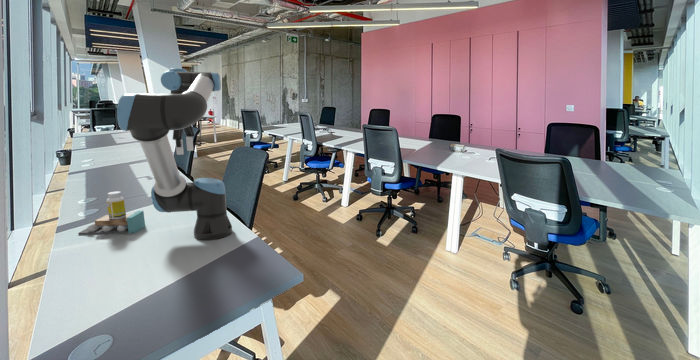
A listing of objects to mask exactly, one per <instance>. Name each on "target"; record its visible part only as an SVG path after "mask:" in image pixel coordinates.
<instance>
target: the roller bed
mask: <svg viewBox="0 0 700 360" xmlns="http://www.w3.org/2000/svg"><path fill="white" fill-rule="evenodd" d="M130 215H131V216H129V217H127V224H128V225H95V222H94V223H92V224H90V225H89V226H87V227H86V228H84V229H83V230H82V231H80V232H78V233H77V234H78V236H79V235H83V236H84V235H87V236H89V235H134V234H136V233H137V232H139V231H140V230H141V229H143V228H145V226H146V222H145V213H144V210H137V211H136V212H134V213H131V214H130Z"/></svg>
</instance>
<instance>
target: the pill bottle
mask: <svg viewBox="0 0 700 360" xmlns="http://www.w3.org/2000/svg"><path fill="white" fill-rule="evenodd" d="M121 195H122V191H118V190H117V191H110V192H108V193H107V197H108V198H106V206H107V212H108V213H107V215H109V218H110V219H121V218H124V217H125V216H126V215H127V213H126V205H125V199H124V197H123V196H121Z"/></svg>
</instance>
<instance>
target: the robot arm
mask: <svg viewBox="0 0 700 360" xmlns="http://www.w3.org/2000/svg"><path fill="white" fill-rule="evenodd" d="M160 82H161V85H162V86H163V88H165V89H166V90H169V91H170V93H138V92H135V93H124V94H122V95H121V96H120V98H119V99H118V103H117V108H116V119H117V124H118V127H119V129H120V130H121V131H123V132H124V131H125V132H128V131H129V133H130V135H131V137H132V138H133V140H136V141H137V142H139V143H140V146H141V149H142V151H143V154H144V156H145V159H146V161H147V164H148V165H149V168H150V171H151V173H152V175H153V178H154V180H155V183H154V184H153V186H152V188H151V192H150V198H151V203H152V205H153V207H154V209H155V210H156V211H158V212H160V213H180V212H181V213H182V212H183V213H184V212H196V221H195V224H194V229H193V237H194V238H195V239H199V240H203V241H206V240H207V241H210V240H211V239H213V240H218V239H217V238H219V239H222V237H223V238H226V237H228V236H230V235H232V233H233V226H232V223H231V221H230V219H229V217H228V212H227V198H226V197H227V196H226V193H227V192H226V187H225V183H224V181H222V180H221V179H218V178H212V177H198V178H195V179H194V180H193V182H187V180H186V178H185V177H184V176H182V175H181V174H180V172H179V169H178V166H177V163H176V159H175V157H174V154H173V149H172V146H171V144H170V140H169V138H168V134H169V133H170V131H172V140H174V141H175V150H176V155H177V156H179V155H183V156H184V143H183V142H184V140H183V139H182V138H183V132H185V135H186V137H185V141H186V150H187V152H192V151H194V140H193V138H194V137H195V133H194V129H193V125H194V124H196V123H197V122H199V121H200V120H201V119H202V118H203V117H204V116H205V114H206V112H207V110H208V101H209V98H210V96H211V93H212V92H220V90H221V85H222V83H221V76H220V74H219V73H218V72H211V71H209V72H208V71H207V72H206V71H205V72H204V71H203V72H202V71H201V72H200V71H199V72H198V71H194V72H193V71H188V70H187V69H186V68H179V67H178V68H175V67H174V68H172V67H171V68H169V69H168V70H166V71H165V72H163V73H162V74H161V75H160ZM229 234H230V235H229ZM227 235H228V236H227ZM225 236H226V237H225Z"/></svg>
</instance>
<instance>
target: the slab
mask: <svg viewBox="0 0 700 360" xmlns="http://www.w3.org/2000/svg"><path fill="white" fill-rule="evenodd" d="M131 215H132V214H126V216H125V217H124V218H121V219H110V218H109V214H105V215H103V216H101V217H99V218H97V219H95V220H94V223H95V225H128V224H127V217H129V216H131Z"/></svg>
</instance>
